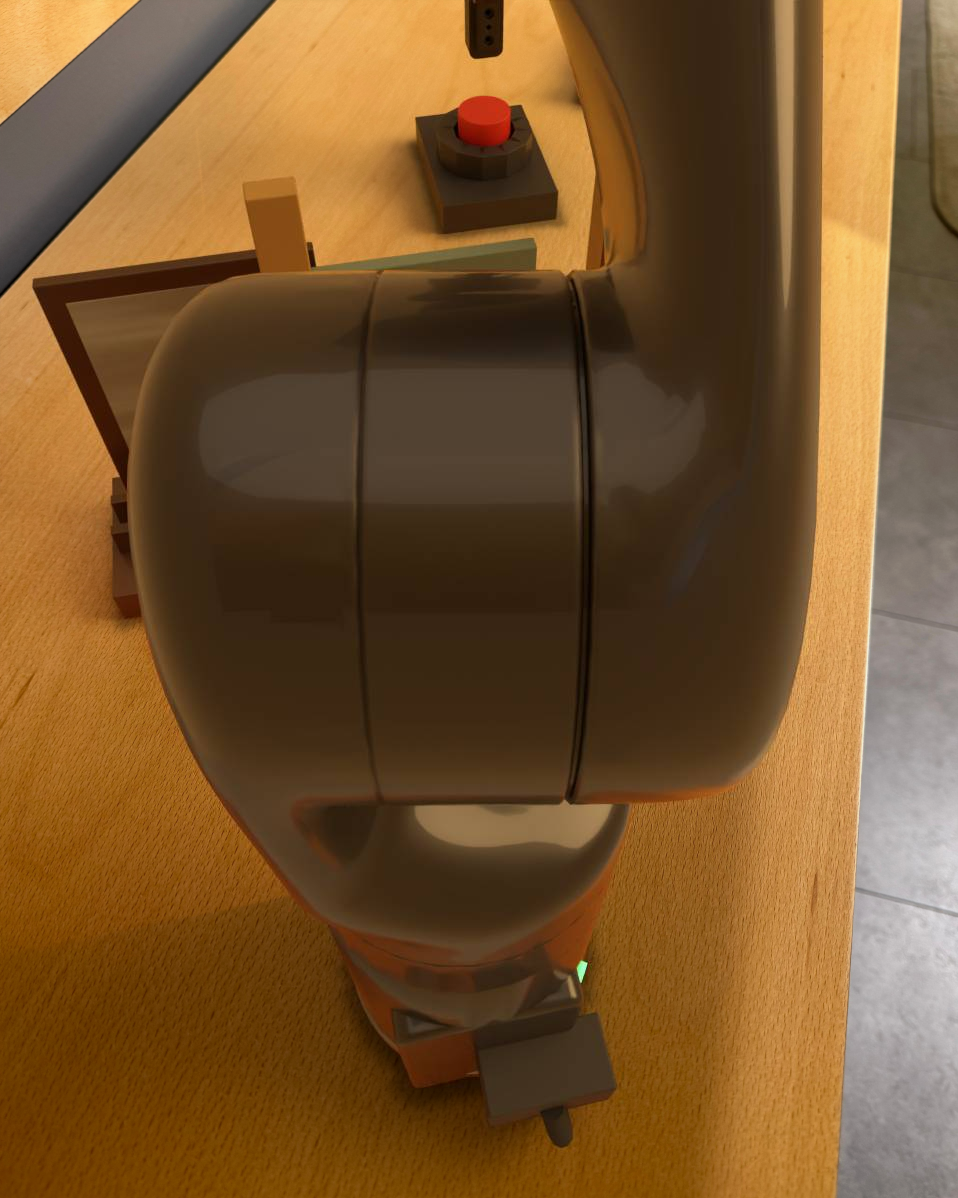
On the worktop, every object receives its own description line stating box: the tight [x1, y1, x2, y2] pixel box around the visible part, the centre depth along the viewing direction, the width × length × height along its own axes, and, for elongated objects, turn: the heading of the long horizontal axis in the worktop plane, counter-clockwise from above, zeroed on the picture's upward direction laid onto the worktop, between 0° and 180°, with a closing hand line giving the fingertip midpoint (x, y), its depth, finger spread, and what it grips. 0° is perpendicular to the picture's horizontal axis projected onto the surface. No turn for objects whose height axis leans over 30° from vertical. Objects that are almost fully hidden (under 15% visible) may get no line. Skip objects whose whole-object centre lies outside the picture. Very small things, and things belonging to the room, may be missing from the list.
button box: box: [414, 104, 559, 235], centre depth 70 cm, size 11×8×4 cm
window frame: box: [31, 172, 605, 619], centre depth 46 cm, size 8×26×20 cm, turn 102°
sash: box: [241, 175, 538, 273], centre depth 45 cm, size 1×12×18 cm, turn 102°
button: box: [457, 95, 511, 147], centre depth 68 cm, size 4×4×2 cm
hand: (484, 51), depth 64 cm, fingers closed
